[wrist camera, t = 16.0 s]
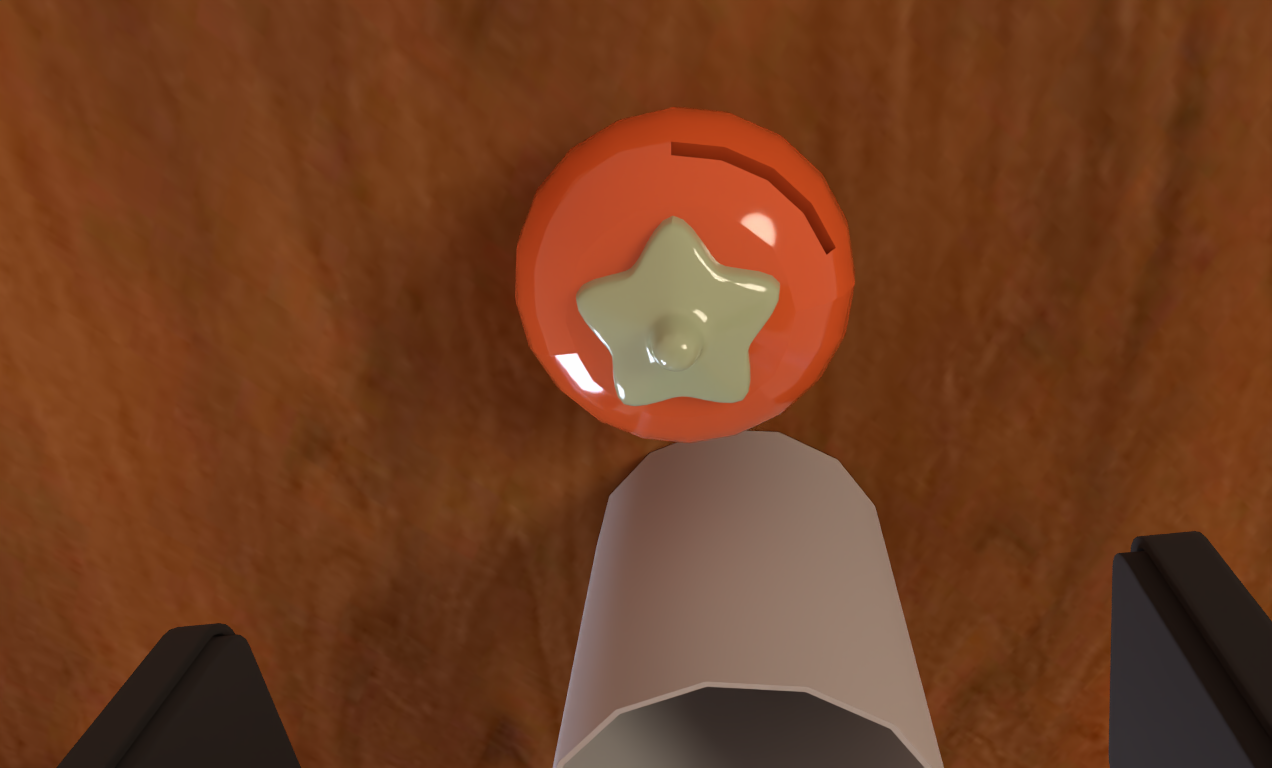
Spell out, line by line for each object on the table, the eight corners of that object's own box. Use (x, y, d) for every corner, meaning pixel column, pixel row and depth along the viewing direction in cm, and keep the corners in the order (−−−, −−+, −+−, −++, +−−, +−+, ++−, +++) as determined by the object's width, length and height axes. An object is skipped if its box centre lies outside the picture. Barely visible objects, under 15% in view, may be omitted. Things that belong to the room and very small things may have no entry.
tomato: (897, 187, 24) (973, 302, 17) (727, 411, 27) (730, 590, 20) (641, 16, 23) (604, 61, 16) (493, 271, 26) (404, 408, 19)
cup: (634, 397, 27) (590, 637, 18) (921, 466, 27) (1020, 736, 18) (575, 631, 31) (514, 927, 22) (829, 690, 31) (873, 1007, 22)
